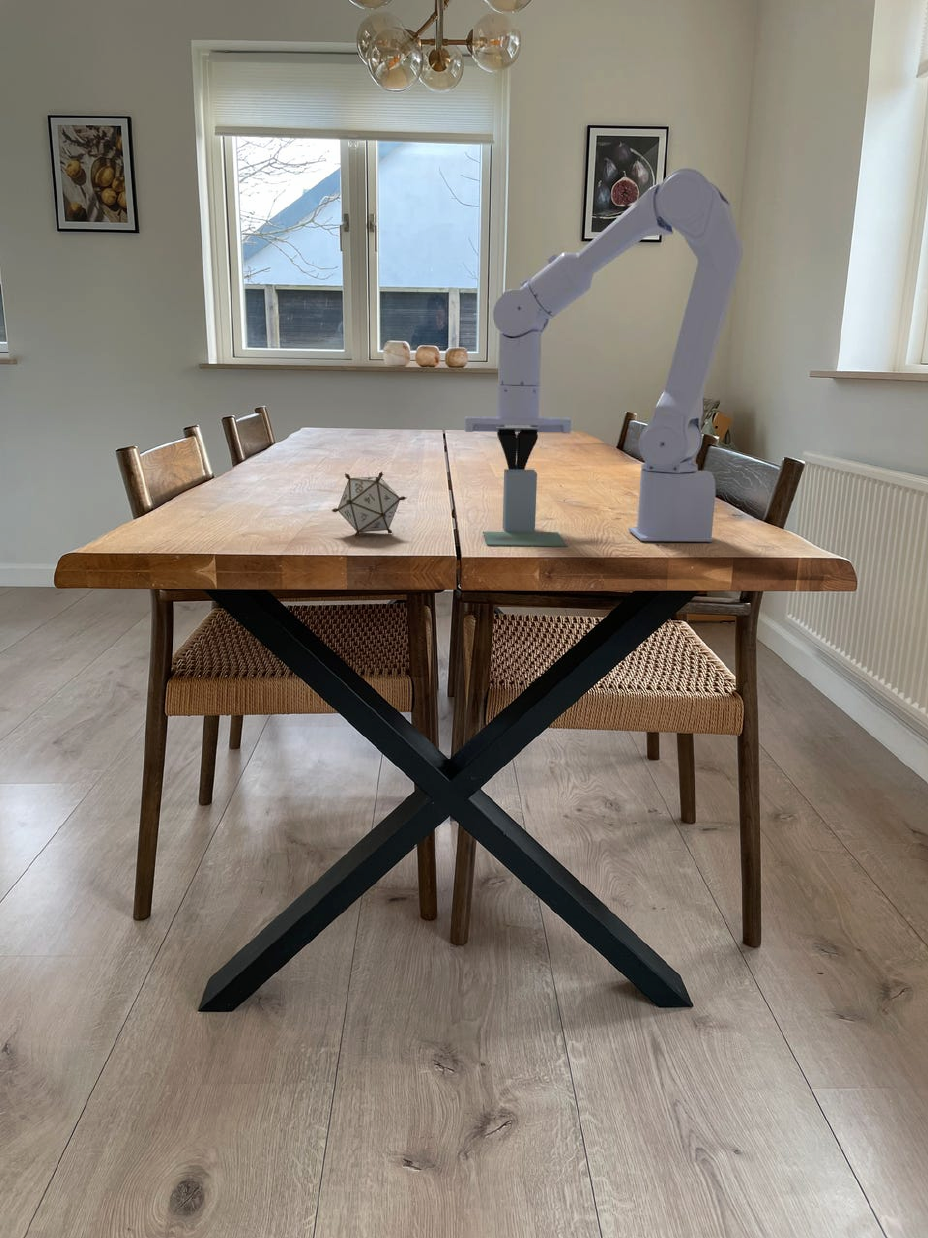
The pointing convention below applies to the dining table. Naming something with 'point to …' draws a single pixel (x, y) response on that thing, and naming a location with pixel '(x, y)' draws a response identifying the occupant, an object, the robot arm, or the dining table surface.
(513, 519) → the slate-blue block
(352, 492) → the game die
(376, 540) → the dining table surface
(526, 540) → the felt mat
